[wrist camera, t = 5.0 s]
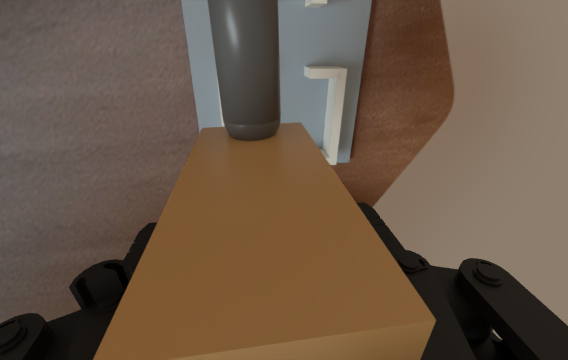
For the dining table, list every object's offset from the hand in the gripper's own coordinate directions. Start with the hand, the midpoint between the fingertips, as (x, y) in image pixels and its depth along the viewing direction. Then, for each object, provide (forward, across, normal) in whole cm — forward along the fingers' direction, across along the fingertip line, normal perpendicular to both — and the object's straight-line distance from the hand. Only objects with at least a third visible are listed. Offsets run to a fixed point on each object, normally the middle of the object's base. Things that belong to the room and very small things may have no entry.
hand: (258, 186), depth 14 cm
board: (+15, -3, -4) cm, 16 cm away
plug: (+1, 0, -5) cm, 5 cm away
